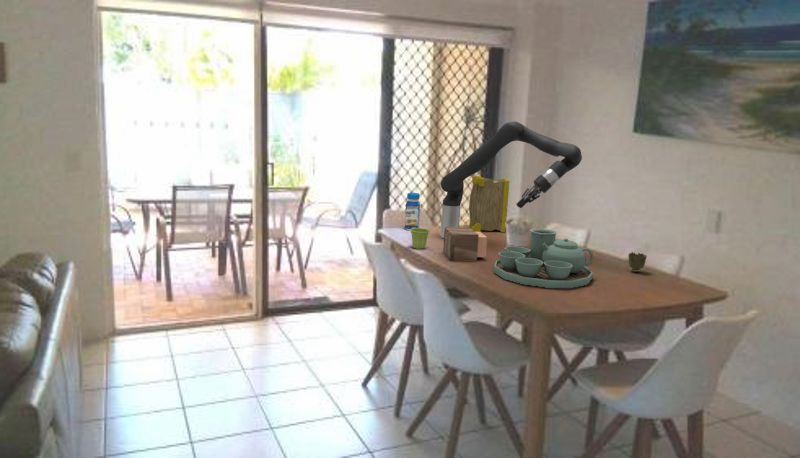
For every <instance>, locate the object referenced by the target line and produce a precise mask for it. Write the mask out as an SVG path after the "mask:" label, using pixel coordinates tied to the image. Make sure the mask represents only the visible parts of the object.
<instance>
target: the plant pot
mask: <svg viewBox="0 0 800 458" xmlns="http://www.w3.org/2000/svg"><path fill="white" fill-rule="evenodd" d="M409 231H410V233H411V242H412V248H414V249H417V250H422V249H425V248H426V245H427V240H428V236H429V234H430V230H429V229H428V228H422V227H419V228H412V229H410V230H409Z"/></svg>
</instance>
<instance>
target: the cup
mask: <svg viewBox="0 0 800 458" xmlns="http://www.w3.org/2000/svg"><path fill="white" fill-rule="evenodd" d="M647 257H648V255H647V254H644V253H641V252H638V253H637V254H636V253H635V252H633V251H631V252H629V253H628V266H629V268H631V269H630V270H631V272H632V271H634V272H633V273H635V272H639V273H640V272H641V270H642V269H643V268H644V267H645V264H646V262H647Z"/></svg>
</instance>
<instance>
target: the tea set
mask: <svg viewBox="0 0 800 458" xmlns="http://www.w3.org/2000/svg"><path fill="white" fill-rule="evenodd" d="M529 231H530V244H529V248H527V247H522V246H506V247H504V251H500V252H498V258H499V259H498V260H495V263H494V267H493V272H494V274H496V276H498V277H500V278H502V279H503V280H505V281H508V280H509V282H512V281H513V283H515V282H516V284H519V283H520V284H519V285H522V284H524V285H523V286H527V285H531V286H530V287H535V286H538V287H537V288H542V287H545V288H544V289H575V288H579V286H580V287H584V285H585V286H588V285H587V284H589V283H590V282H591V281H590V280H592V279H593V278H594V272H593V271H592V270H590V269H589V268H588V267H587V266H590V264H591V263H592V261H593V259H594V255H593V252H592V250H591V249H589V248H588V247H587V248H586V247H584V248H580V247H578V243H577V242H576V241H573V240H570V239H569V238H563V239H557V240H556V235H557V234H558V231H556V230H553V229H547V228H531V229H530V230H529ZM585 251H586V252H588V253H589V255H590V258H589V260H588V261H587V262H586V260H587V259H586V254H585ZM574 287H575V288H574Z"/></svg>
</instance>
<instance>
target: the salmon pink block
mask: <svg viewBox="0 0 800 458" xmlns="http://www.w3.org/2000/svg"><path fill="white" fill-rule="evenodd" d="M476 233H477V234H478V235H479V236H478V250H477V258H486V257H487V256H486V255H487V241H488V237H487V235H485V234H483V233H482V231H481V232H476Z"/></svg>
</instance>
